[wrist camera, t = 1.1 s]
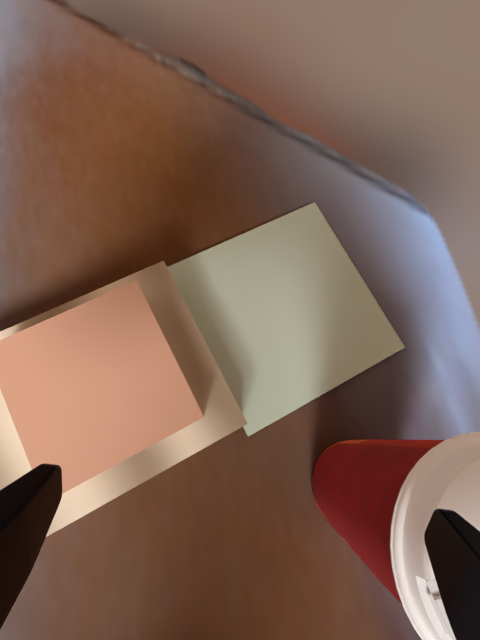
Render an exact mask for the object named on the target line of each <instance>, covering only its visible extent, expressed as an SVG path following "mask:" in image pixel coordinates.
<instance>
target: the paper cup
mask: <svg viewBox="0 0 480 640" xmlns="http://www.w3.org/2000/svg"><path fill="white" fill-rule="evenodd" d="M312 492H313V496H314V499H315V502H316V504H317V506H318V508H319V510H320V512H321V513H322V514H323V516H324V517H325V519H326V520H327V521H328V522H329V523H330V525H331V526H332V527H333V528H334V529H335V530H336V531H337V533H338V534H339V535H340V536H341V537H342V538H343V539H344V541H345V542H346V543H347V544H348V545H349V546H350V547H351V548H352V549H353V551H354V552H355V553H356V554H357V555H358V556H359V557H360V558H361V560H362V561H363V562H364V563H365V564H366V565H367V566H368V568H369V569H370V570H371V571H372V572H373V573H374V575H375V576H376V577H377V578H378V579H379V580H380V582H381V583H382V584H383V585H384V586H385V587H386V588H387V589H388V590H389V591H390V592H391V593H392V594H393V595H394V597H395V598H396V599H397V600H398V601H399V602H400V603H401V604H402V605H403V607H404V610H405V612H406V614H407V616H408V618H409V619H410V621H411V623H412V625H413V627H414V629H415V630H416V632H417V633H418V635H419V636H420V637H421V639H422V640H456V638H455V636H454V633H453V631H452V628H451V625H450V623H449V620H448V617H447V615H446V612H445V609H444V606H443V603H442V599H441V596H440V593H439V589H438V586H437V582H436V579H435V576H434V572H433V569H432V566H431V562H430V559H429V556H428V552H427V549H426V546H425V541H424V534H425V530H426V528H427V526H428V523H429V521H430V518H431V516H432V514H433V512H434V510H436V509H447V510H453V511H455V512H456V513H458V514H459V515H460V516H461V517H463V518H464V519H465V520H466V521H468V522H469V523H470V524H471V525H472V526H474V527H475V528H476V529H477V530H479V531H480V432H472V433H466V434H461V435H458V436H455V437H452V438H450V439H447V440H378V439H370V440H346V441H341V442H338V443H335V444H333V445H331V446H330V447H328V448H327V449H326V450H325V451H324V452H323V453H322V454H321V455H320V457H319V458H318V460H317V462H316V464H315V466H314V469H313V473H312Z"/></svg>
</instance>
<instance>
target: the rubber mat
mask: <svg viewBox="0 0 480 640" xmlns="http://www.w3.org/2000/svg"><path fill="white" fill-rule="evenodd" d="M167 268H168V270H169V272H170V274H171V276H172V278H173V280H174V282H175V284H176V286H177V288H178V289H179V291H180V293H181V295H182V297H183V299H184V301H185V303H186V305H187V307H188V309H189V311H190V313H191V315H192V317H193V319H194V321H195V322H196V324H197V326H198V328H199V330H200V332H201V334H202V336H203V338H204V340H205V342H206V344H207V346H208V348H209V350H210V352H211V354H212V355H213V357H214V359H215V361H216V363H217V365H218V367H219V369H220V371H221V373H222V375H223V377H224V379H225V381H226V383H227V385H228V387H229V388H230V390H231V392H232V394H233V396H234V398H235V400H236V402H237V404H238V406H239V408H240V410H241V412H242V414H243V416H244V418H245V420H246V422H247V423H248V424H246V425H245V426H243V428H244V430H245V432H246V434H247V436H248V437H249V436H250V435H252V434H254V433H256V432H257V431H259V430H261V429H263V428H264V427H266V426H268V425H270V424H271V423H273V422H275V421H277V420H278V419H280V418H282V417H284V416H285V415H287V414H289V413H291V412H292V411H294V410H296V409H298V408H299V407H301V406H303V405H305V404H307V403H308V402H310V401H312V400H314V399H315V398H317V397H319V396H321V395H322V394H324V393H326V392H328V391H329V390H331V389H333V388H335V387H336V386H338V385H340V384H342V383H343V382H345V381H347V380H349V379H350V378H352V377H354V376H356V375H357V374H359V373H361V372H363V371H365V370H366V369H368V368H370V367H372V366H373V365H375V364H377V363H379V362H380V361H382V360H384V359H386V358H387V357H389V356H391V355H393V354H394V353H396V352H398V351H400V350H401V349H403V348H405V347H404V345H403V343H402V342H401V340H400V338H399V337H398V335H397V334H396V332H395V330H394V329H393V327H392V326H391V324H390V322H389V321H388V319H387V318H386V316H385V314H384V313H383V311H382V309H381V308H380V306H379V305H378V303H377V301H376V300H375V298H374V297H373V295H372V293H371V292H370V290H369V289H368V287H367V285H366V284H365V282H364V280H363V279H362V277H361V276H360V274H359V272H358V271H357V269H356V268H355V266H354V264H353V263H352V261H351V260H350V258H349V256H348V255H347V253H346V252H345V250H344V248H343V247H342V245H341V243H340V242H339V240H338V239H337V237H336V235H335V234H334V232H333V231H332V229H331V227H330V226H329V224H328V223H327V221H326V219H325V218H324V216H323V214H322V213H321V211H320V210H319V208H318V206H317V205H316V203H315V202H314V203H311V204H309V205H307V206H305V207H302V208H300V209H298V210H296V211H293V212H291V213H289V214H287V215H284V216H282V217H280V218H277V219H275V220H273V221H271V222H268V223H266V224H264V225H262V226H259V227H257V228H255V229H252V230H250V231H248V232H246V233H243V234H241V235H239V236H237V237H234V238H232V239H230V240H227V241H225V242H223V243H221V244H218V245H216V246H214V247H212V248H209V249H207V250H205V251H203V252H200V253H198V254H196V255H193V256H191V257H189V258H187V259H184V260H182V261H180V262H178V263H175V264H173V265H171V266H168V267H167Z"/></svg>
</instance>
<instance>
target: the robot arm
mask: <svg viewBox="0 0 480 640" xmlns="http://www.w3.org/2000/svg"><path fill="white" fill-rule="evenodd" d="M61 498H62V469H61V467H60V466H59V465H56V464H47V463H43V464H40V465H38V466H37V467H35V468H34V469H32V470H31V471H29V472H28V473H26V474H24V475H23V476H21V477H20V478H18V479H17V480H15V481H14V482H12V483H10V484H9V485H7V486H6V487H4V488H3V489H1V490H0V629H1V627H2V625H3V623H4V621H5V619H6V618H7V616H8V614H9V612H10V610H11V608H12V606H13V605H14V603H15V601H16V599H17V597H18V595H19V593H20V592H21V590H22V588H23V586H24V584H25V582H26V580H27V578H28V576H29V574H30V572H31V570H32V568H33V566H34V563H35V561H36V559H37V556H38V554H39V552H40V549H41V547H42V545H43V542H44V540H45V537H46V535H47V533H48V530H49V528H50V526H51V523H52V521H53V518H54V516H55V514H56V511H57V509H58V506H59V504H60V501H61ZM424 541H425V546H426V549H427V552H428V556H429V559H430V562H431V566H432V569H433V572H434V576H435V579H436V582H437V586H438V589H439V593H440V596H441V599H442V603H443V606H444V609H445V612H446V615H447V617H448V620H449V623H450V625H451V628H452V631H453V633H454V636H455V638H456V640H480V531H479V530H477V529H476V528H475V527H474V526H472V525H471V524H470V523H469V522H468V521H466V520H465V519H464V518H463V517H461V516H460V515H459V514H458V513H456V512H455V511H453V510H447V509H436V510H434V512H433V514H432V516H431V518H430V521H429V523H428V526H427V528H426V530H425V534H424Z"/></svg>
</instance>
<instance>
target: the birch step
mask: <svg viewBox="0 0 480 640" xmlns="http://www.w3.org/2000/svg"><path fill="white" fill-rule="evenodd" d="M136 280H137V282H138V284H139V286H140V288H141V290H142V292H143V294H144V296H145V298H146V300H147V302H148V304H149V306H150V308H151V310H152V312H153V314H154V317H155V319H156V321H157V323H158V325H159V327H160V329H161V331H162V333H163V335H164V337H165V339H166V341H167V343H168V345H169V347H170V349H171V351H172V353H173V355H174V357H175V359H176V361H177V363H178V365H179V367H180V369H181V371H182V373H183V375H184V377H185V379H186V381H187V383H188V385H189V387H190V389H191V391H192V393H193V395H194V397H195V399H196V402H197V404H198V406H199V408H200V410H201V412H202V414H203V416H204V417H203V418H201V419H200V420H198V421H196V422H194V423H192V424H190V425H188V426H187V427H185V428H183V429H181V430H179V431H177V432H176V433H174V434H172V435H170V436H168V437H166V438H164V439H163V440H161V441H159V442H157V443H155V444H153V445H152V446H150V447H148V448H146V449H144V450H142V451H140V452H139V453H137V454H135V455H133V456H131V457H129V458H128V459H126V460H124V461H122V462H120V463H118V464H116V465H115V466H113V467H111V468H109V469H107V470H105V471H104V472H102V473H100V474H98V475H96V476H94V477H92V478H91V479H89V480H87V481H85V482H83V483H81V484H80V485H78V486H76V487H74V488H72V489H70V490H68V491H67V492H65V493H63V494H62V498H61V501H60V504H59V506H58V509H57V511H56V514H55V516H54V518H53V521H52V523H51V526H50V528H49V530H48V533H47V535H46V537H47V536H49V535H50V534H52V533H54V532H56V531H57V530H59V529H61V528H63V527H65V526H66V525H68V524H70V523H72V522H73V521H75V520H77V519H79V518H81V517H82V516H84V515H86V514H88V513H90V512H91V511H93V510H95V509H97V508H98V507H100V506H102V505H104V504H106V503H107V502H109V501H111V500H113V499H114V498H116V497H118V496H120V495H122V494H123V493H125V492H127V491H129V490H131V489H132V488H134V487H136V486H138V485H139V484H141V483H143V482H145V481H147V480H148V479H150V478H152V477H154V476H156V475H157V474H159V473H161V472H163V471H164V470H166V469H168V468H170V467H172V466H173V465H175V464H177V463H179V462H180V461H182V460H184V459H186V458H188V457H189V456H191V455H193V454H195V453H197V452H198V451H200V450H202V449H204V448H205V447H207V446H209V445H211V444H213V443H214V442H216V441H218V440H220V439H221V438H223V437H225V436H227V435H229V434H230V433H232V432H234V431H236V430H238V429H239V428H241V427H243V426H245V425H246V424H248V423H247V422H246V420H245V418H244V416H243V414H242V412H241V410H240V408H239V406H238V404H237V402H236V400H235V398H234V396H233V394H232V392H231V390H230V388H229V387H228V385H227V383H226V381H225V379H224V377H223V375H222V373H221V371H220V369H219V367H218V365H217V363H216V361H215V359H214V357H213V355H212V354H211V352H210V350H209V348H208V346H207V344H206V342H205V340H204V338H203V336H202V334H201V332H200V330H199V328H198V326H197V324H196V322H195V321H194V319H193V317H192V315H191V313H190V311H189V309H188V307H187V305H186V303H185V301H184V299H183V297H182V295H181V293H180V291H179V289H178V288H177V286H176V284H175V282H174V280H173V278H172V276H171V274H170V272H169V270H168V268H167V266H166V264H165V262H164V261H161V262H159V263H157V264H154V265H152V266H150V267H147V268H145V269H143V270H141V271H138V272H136V273H134V274H131V275H129V276H127V277H125V278H122V279H120V280H118V281H115V282H113V283H111V284H108V285H106V286H104V287H102V288H99V289H97V290H95V291H92V292H90V293H88V294H86V295H83V296H81V297H79V298H76V299H74V300H72V301H69V302H67V303H65V304H63V305H60V306H58V307H56V308H53V309H51V310H49V311H46V312H44V313H42V314H40V315H37V316H35V317H33V318H30V319H28V320H26V321H24V322H21V323H19V324H17V325H14V326H12V327H10V328H7V329H5V330H3V331H1V332H0V340H2V339H4V338H6V337H9V336H11V335H13V334H15V333H18V332H20V331H22V330H24V329H27V328H29V327H31V326H34V325H36V324H38V323H40V322H43V321H45V320H47V319H49V318H52V317H54V316H56V315H59V314H61V313H63V312H65V311H68V310H70V309H72V308H74V307H77V306H79V305H81V304H84V303H86V302H88V301H90V300H93V299H95V298H97V297H99V296H102V295H104V294H106V293H109V292H111V291H113V290H115V289H118V288H120V287H122V286H124V285H127V284H129V283H131V282H134V281H136ZM31 470H32V469H31V466H30V463H29V461H28V458H27V456H26V453H25V451H24V448H23V446H22V443H21V441H20V438H19V436H18V433H17V430H16V428H15V425H14V423H13V420H12V418H11V415H10V413H9V410H8V408H7V405H6V403H5V400H4V397H3V395H2V392H1V390H0V490H1V489H3V488H4V487H6V486H7V485H9V484H10V483H12V482H14V481H15V480H17V479H18V478H20V477H21V476H23V475H24V474H26V473H28V472H29V471H31Z"/></svg>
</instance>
